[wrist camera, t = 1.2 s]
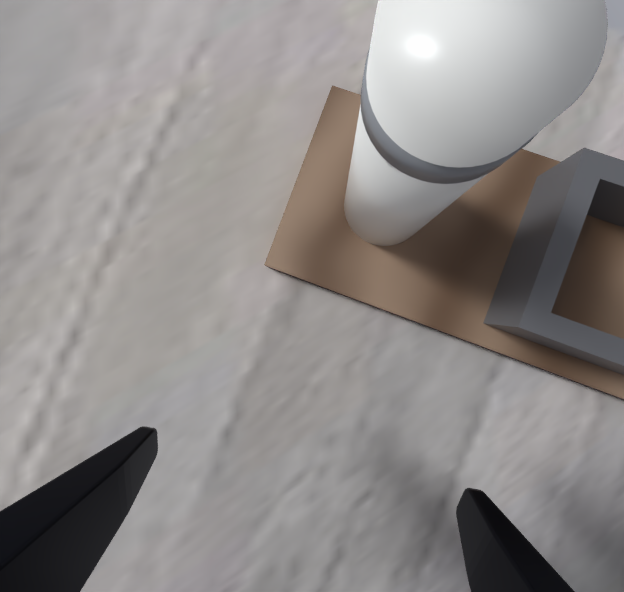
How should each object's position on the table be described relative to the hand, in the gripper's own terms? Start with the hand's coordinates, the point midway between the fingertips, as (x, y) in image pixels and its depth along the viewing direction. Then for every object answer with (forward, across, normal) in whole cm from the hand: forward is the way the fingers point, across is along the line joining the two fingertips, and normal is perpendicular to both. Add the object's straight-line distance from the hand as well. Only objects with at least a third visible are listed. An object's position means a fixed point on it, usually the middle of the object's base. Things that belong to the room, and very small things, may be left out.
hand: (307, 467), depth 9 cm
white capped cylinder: (+14, -2, -7) cm, 15 cm away
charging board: (+14, -9, -5) cm, 17 cm away
